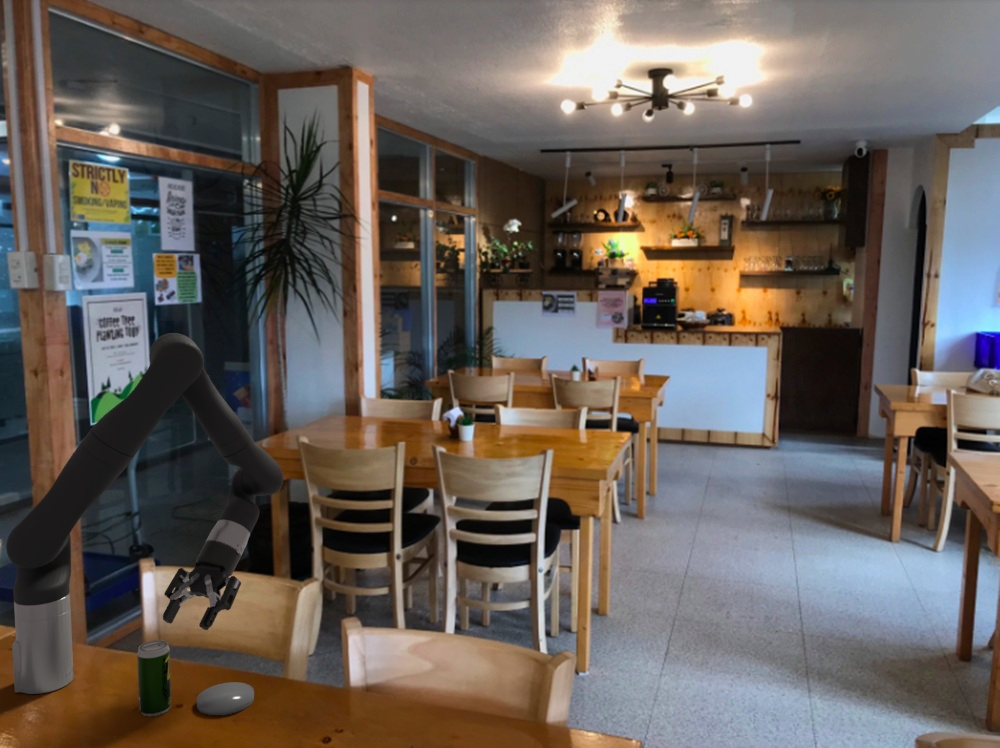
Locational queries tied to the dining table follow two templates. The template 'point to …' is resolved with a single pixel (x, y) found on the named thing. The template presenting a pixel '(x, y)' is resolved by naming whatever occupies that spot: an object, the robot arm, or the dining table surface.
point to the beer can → (154, 678)
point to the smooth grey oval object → (225, 698)
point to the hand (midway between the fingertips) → (184, 625)
